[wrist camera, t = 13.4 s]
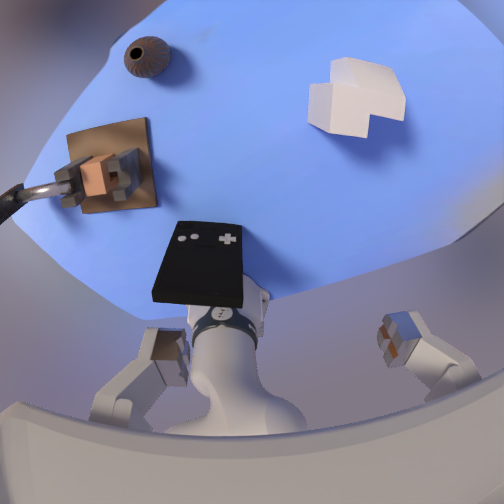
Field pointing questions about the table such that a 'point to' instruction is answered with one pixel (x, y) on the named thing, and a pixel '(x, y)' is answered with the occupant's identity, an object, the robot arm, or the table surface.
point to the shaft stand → (112, 166)
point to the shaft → (30, 196)
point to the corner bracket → (355, 97)
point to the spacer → (97, 176)
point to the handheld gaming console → (202, 266)
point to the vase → (147, 57)
